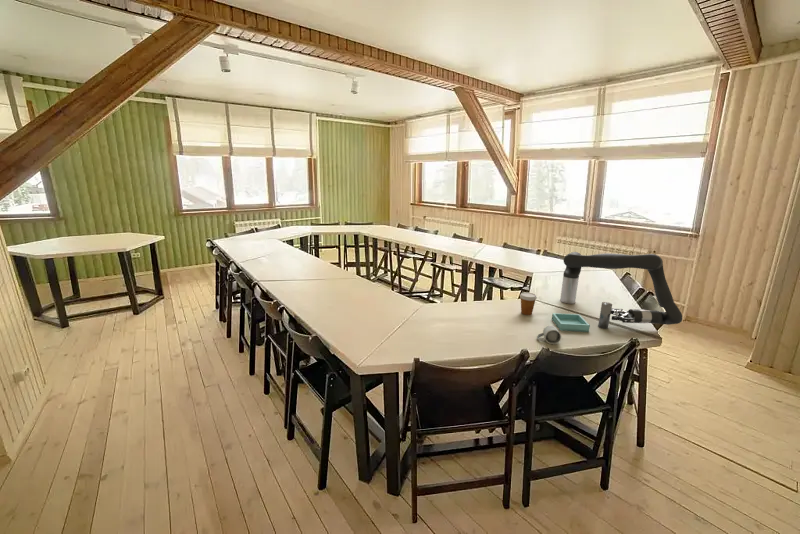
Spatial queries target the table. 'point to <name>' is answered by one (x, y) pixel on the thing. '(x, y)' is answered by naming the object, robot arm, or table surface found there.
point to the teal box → (570, 322)
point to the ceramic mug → (550, 335)
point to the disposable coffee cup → (527, 303)
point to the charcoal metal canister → (605, 315)
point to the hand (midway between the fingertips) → (608, 314)
